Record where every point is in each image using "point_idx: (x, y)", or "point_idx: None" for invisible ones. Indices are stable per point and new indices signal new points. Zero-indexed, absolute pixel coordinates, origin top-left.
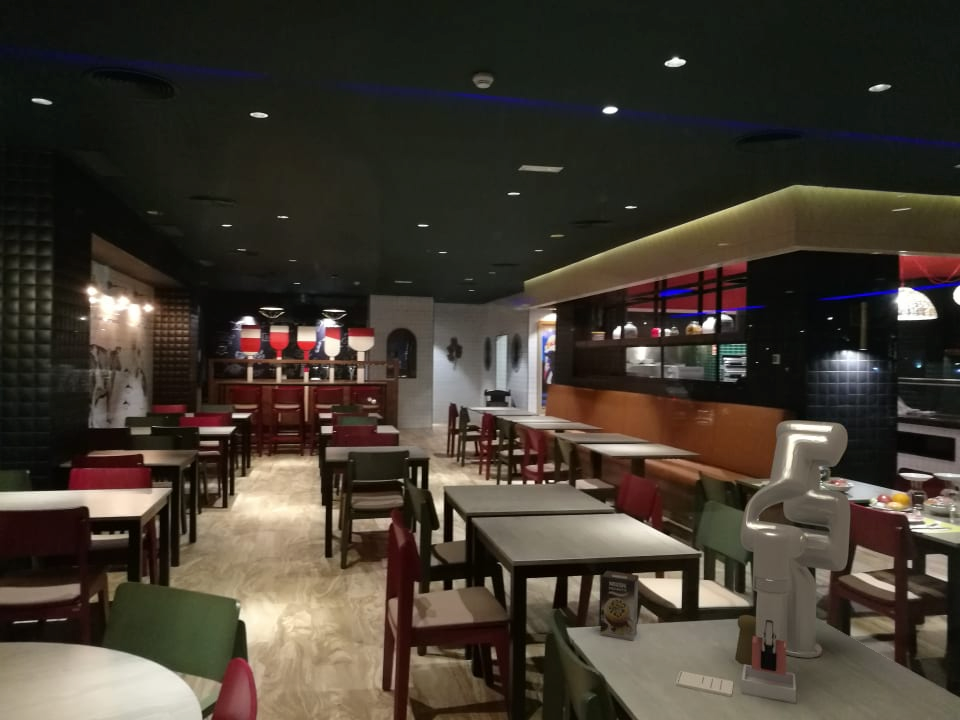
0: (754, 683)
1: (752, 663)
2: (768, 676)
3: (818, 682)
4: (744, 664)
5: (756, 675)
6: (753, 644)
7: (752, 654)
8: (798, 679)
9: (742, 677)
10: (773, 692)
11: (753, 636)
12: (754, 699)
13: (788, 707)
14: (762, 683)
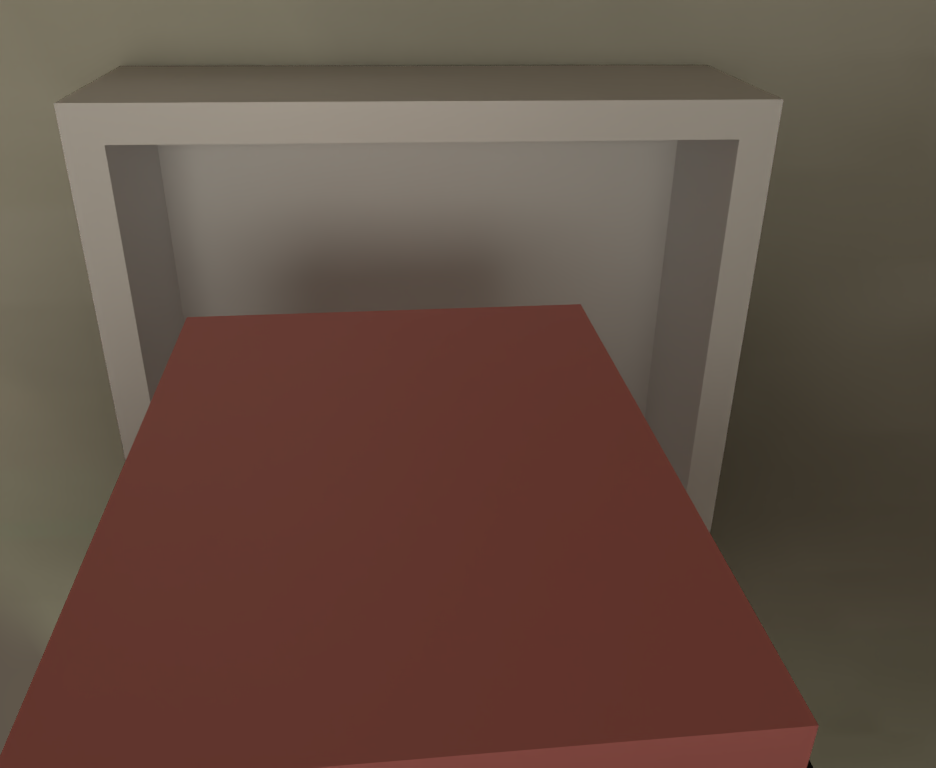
0: (101, 297)
1: (161, 383)
2: (661, 409)
3: (822, 752)
4: (778, 107)
5: (677, 258)
6: (17, 755)
7: (112, 497)
8: (840, 622)
9: (163, 105)
10: None
11: (750, 743)
12: (34, 242)
13: None
14: (121, 413)
